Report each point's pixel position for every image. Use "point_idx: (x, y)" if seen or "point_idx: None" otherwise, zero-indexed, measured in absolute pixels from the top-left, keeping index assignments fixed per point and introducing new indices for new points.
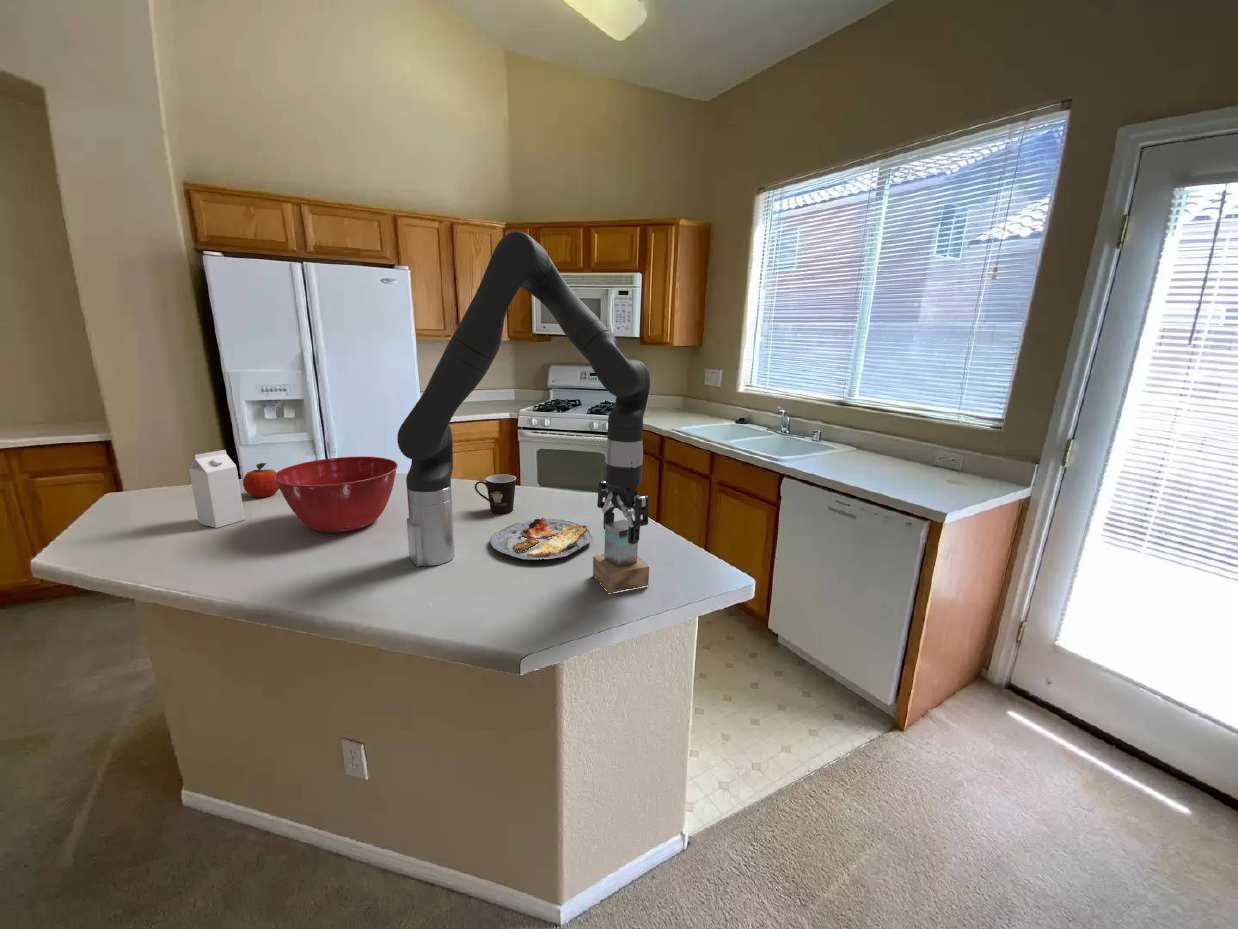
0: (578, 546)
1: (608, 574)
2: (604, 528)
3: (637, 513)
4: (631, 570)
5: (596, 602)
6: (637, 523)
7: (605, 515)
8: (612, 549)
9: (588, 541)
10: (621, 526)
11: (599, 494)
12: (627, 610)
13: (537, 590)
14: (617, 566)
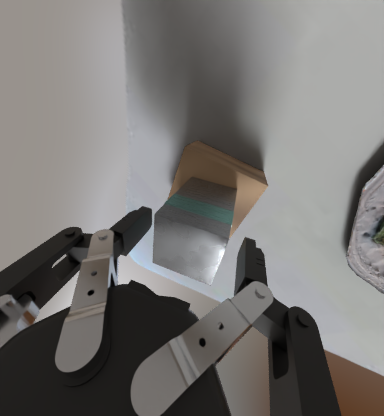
0: (366, 237)
1: (189, 147)
2: (250, 240)
3: (25, 261)
4: (172, 186)
5: (192, 103)
6: (63, 234)
7: (247, 273)
8: (201, 193)
9: (352, 257)
10: (179, 246)
11: (321, 402)
12: (147, 126)
13: (339, 7)
14: (191, 177)
